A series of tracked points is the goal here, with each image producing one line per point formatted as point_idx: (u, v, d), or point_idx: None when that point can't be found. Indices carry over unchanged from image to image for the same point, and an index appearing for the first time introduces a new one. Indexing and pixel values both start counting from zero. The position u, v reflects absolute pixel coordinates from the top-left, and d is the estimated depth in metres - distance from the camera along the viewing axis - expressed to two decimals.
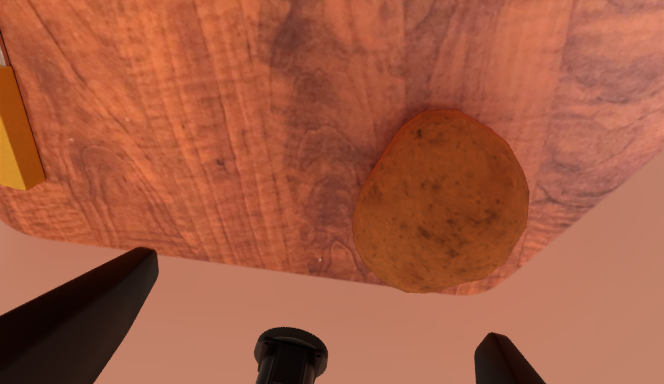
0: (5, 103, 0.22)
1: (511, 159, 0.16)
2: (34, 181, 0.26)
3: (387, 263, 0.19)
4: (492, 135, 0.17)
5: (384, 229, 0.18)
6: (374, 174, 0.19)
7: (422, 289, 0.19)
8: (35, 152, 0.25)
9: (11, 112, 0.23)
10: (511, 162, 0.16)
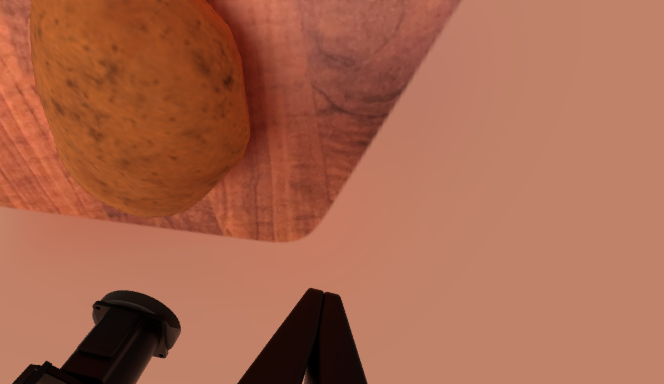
0: None
1: (164, 3, 0.12)
2: None
3: (69, 166, 0.14)
4: None
5: None
6: None
7: (127, 204, 0.15)
8: None
9: None
10: (159, 5, 0.12)
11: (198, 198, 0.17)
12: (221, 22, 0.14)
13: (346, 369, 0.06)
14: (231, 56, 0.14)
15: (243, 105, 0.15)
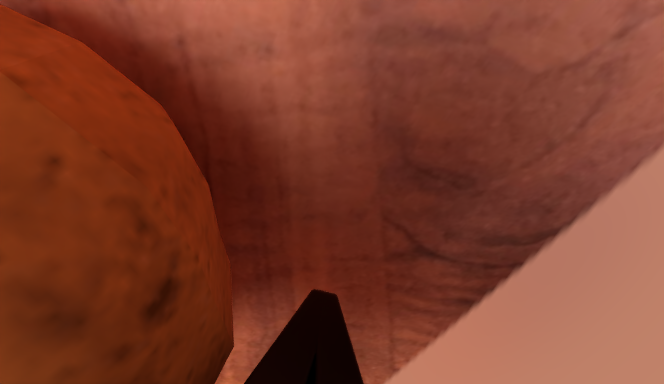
0: None
1: None
2: None
3: None
4: None
5: None
6: None
7: None
8: None
9: None
10: None
11: None
12: (150, 122, 0.06)
13: (342, 368, 0.06)
14: (173, 217, 0.05)
15: (213, 308, 0.06)
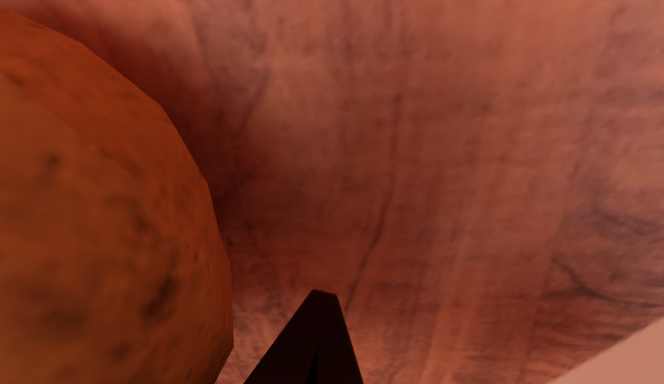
0: None
1: None
2: None
3: None
4: None
5: None
6: None
7: None
8: None
9: None
10: None
11: None
12: (150, 122, 0.06)
13: (342, 368, 0.06)
14: (173, 217, 0.05)
15: (212, 307, 0.06)
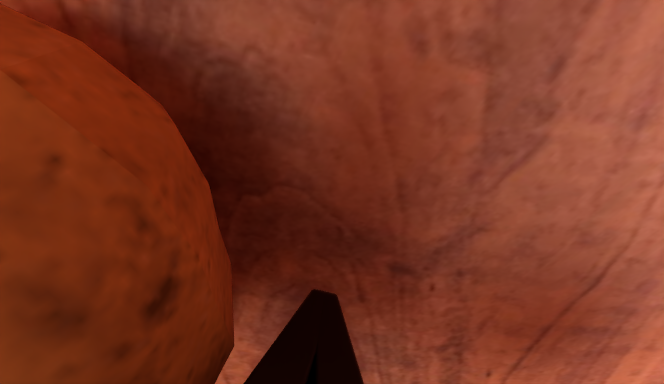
0: None
1: None
2: None
3: None
4: None
5: None
6: None
7: None
8: None
9: None
10: None
11: None
12: (151, 121, 0.06)
13: (342, 368, 0.06)
14: (174, 216, 0.05)
15: (213, 307, 0.06)
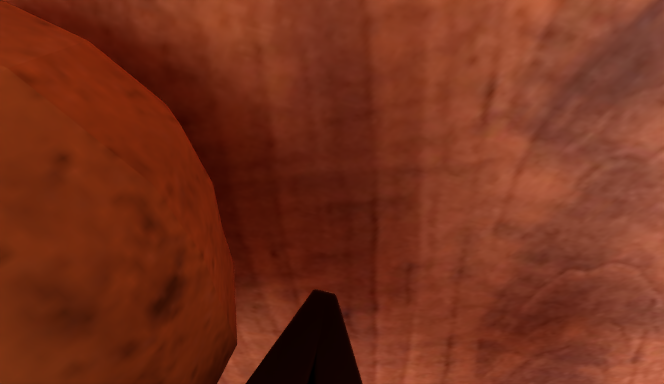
0: None
1: None
2: None
3: None
4: None
5: None
6: None
7: None
8: None
9: None
10: None
11: None
12: (156, 120, 0.06)
13: (341, 368, 0.06)
14: (179, 215, 0.05)
15: (217, 306, 0.06)
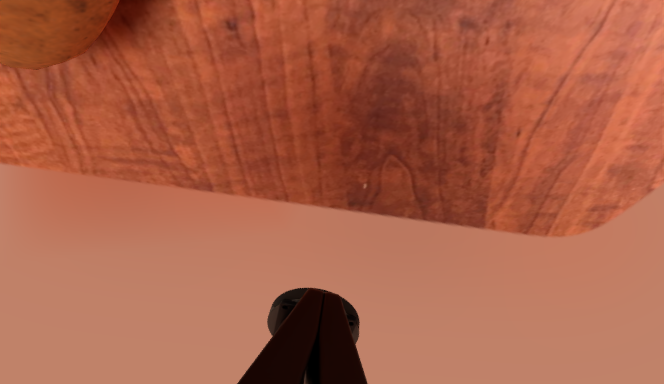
0: None
1: None
2: None
3: None
4: None
5: None
6: None
7: None
8: None
9: None
10: None
11: (68, 35, 0.13)
12: None
13: (346, 369, 0.06)
14: None
15: None
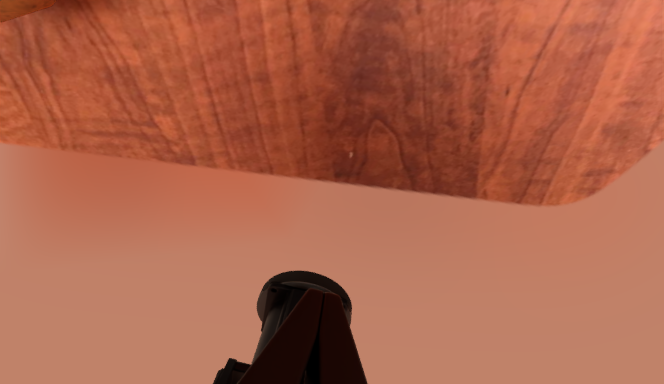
0: None
1: None
2: None
3: None
4: None
5: None
6: None
7: None
8: None
9: None
10: None
11: None
12: None
13: (346, 369, 0.06)
14: None
15: None
